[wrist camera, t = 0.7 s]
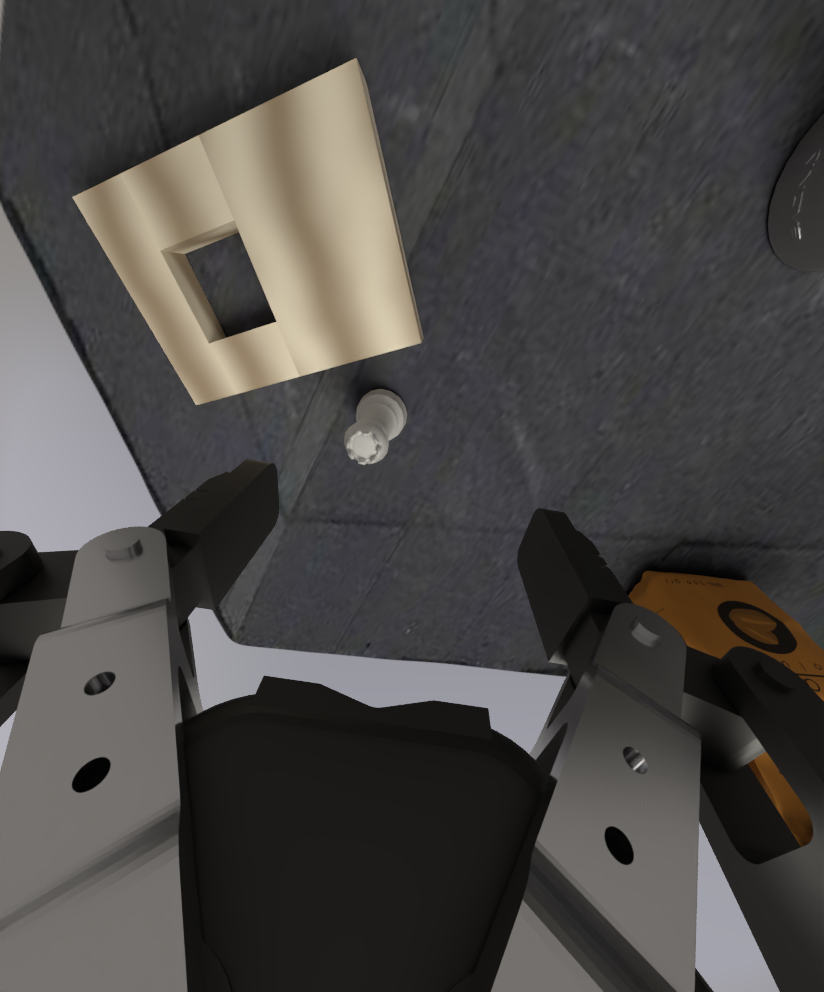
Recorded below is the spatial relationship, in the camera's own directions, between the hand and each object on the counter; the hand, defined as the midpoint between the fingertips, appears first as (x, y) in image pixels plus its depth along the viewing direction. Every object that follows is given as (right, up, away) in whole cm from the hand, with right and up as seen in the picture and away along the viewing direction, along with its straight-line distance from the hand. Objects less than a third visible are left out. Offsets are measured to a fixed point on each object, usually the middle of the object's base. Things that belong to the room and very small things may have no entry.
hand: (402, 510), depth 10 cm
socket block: (-10, +17, +15) cm, 25 cm away
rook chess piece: (-2, +8, +20) cm, 21 cm away
